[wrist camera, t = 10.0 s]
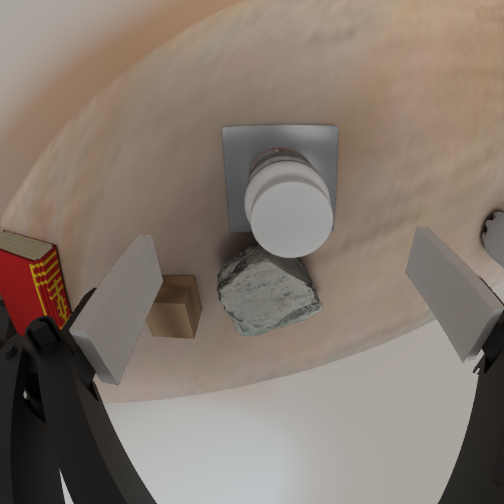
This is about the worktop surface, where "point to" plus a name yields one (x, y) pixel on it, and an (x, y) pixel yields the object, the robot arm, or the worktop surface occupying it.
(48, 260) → the book
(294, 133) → the coaster
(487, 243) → the bottle
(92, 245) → the worktop surface
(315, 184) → the pill bottle
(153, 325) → the walnut block
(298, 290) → the stone
